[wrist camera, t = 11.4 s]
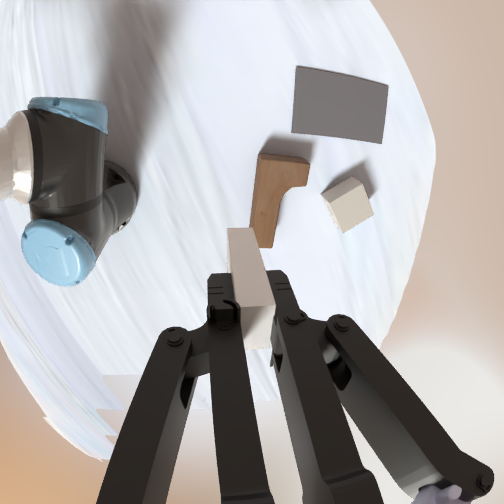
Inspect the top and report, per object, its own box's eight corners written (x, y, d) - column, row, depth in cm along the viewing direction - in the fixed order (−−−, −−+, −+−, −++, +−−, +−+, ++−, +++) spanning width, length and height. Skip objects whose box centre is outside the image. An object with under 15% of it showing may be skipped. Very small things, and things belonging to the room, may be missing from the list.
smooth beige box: (334, 222, 60) (342, 233, 55) (320, 193, 55) (329, 203, 51) (363, 205, 58) (373, 214, 54) (351, 175, 54) (362, 183, 50)
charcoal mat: (291, 132, 48) (291, 133, 47) (295, 67, 41) (296, 66, 40) (380, 143, 50) (381, 144, 50) (387, 86, 43) (388, 86, 43)
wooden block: (311, 163, 47) (294, 249, 56) (303, 157, 51) (288, 238, 60) (261, 158, 45) (250, 248, 55) (257, 153, 49) (247, 237, 58)
